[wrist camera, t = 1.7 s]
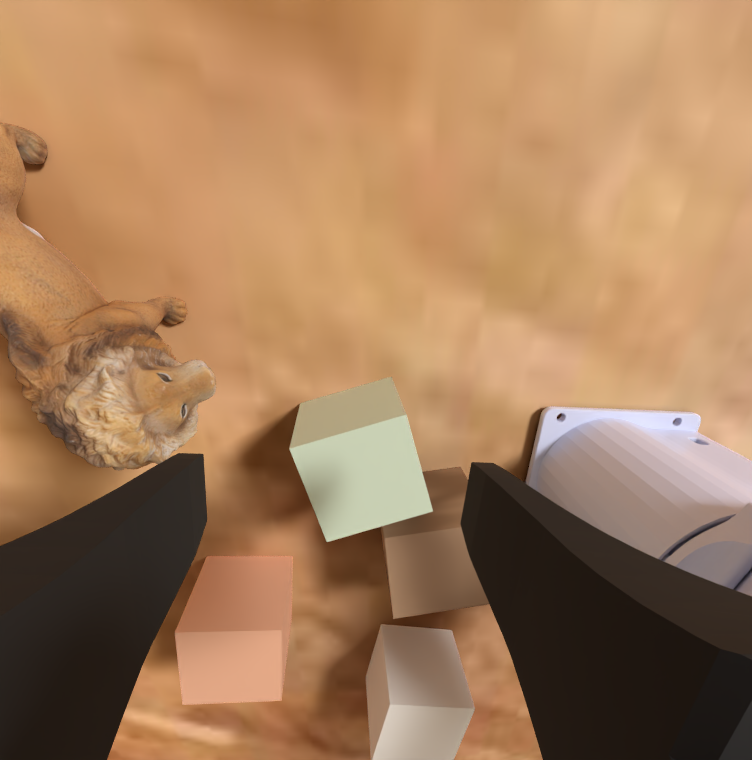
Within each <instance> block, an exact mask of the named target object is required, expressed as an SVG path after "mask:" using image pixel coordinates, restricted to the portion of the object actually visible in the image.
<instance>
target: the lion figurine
mask: <svg viewBox="0 0 752 760" xmlns="http://www.w3.org/2000/svg"><path fill="white" fill-rule="evenodd" d="M47 154H48V152H47V146H46V144H45V142H44V141H43V140H42V139H41V138H40V137H39V136H38V135H37V134H35V133H33V132H32V131H30V130H27V129H24V128H21V127H18V126H15V125H11V124H6V123H2V122H0V333H1V334H2V335H3V336H4V337H5V338H6V339H7V340H8V358H9V360H10V362H11V363H12V365H13V366H14V367H15V368H16V379H17V381H18V382H19V383H21V384H23V388H22V394H23V396H24V397H25V398H26V399H28V400H29V401H32V403H33V405H32V409H31V410H32V411H33V412H35V413H37V414H38V415H37V419H38V420H39V421H40V423H44V424H46V425H47V426H48V428H49V430H50V431H51V433H52V435H54V436H55V437H58V438H61V439H63V440H64V442H65V445H66V448H67V449H68V450H69V451H70V452H72V453H73V454H76V455H78V456H80V457H82V458H84V459H85V460H86V461H87V462H89V463H90V464H92V465H94V466H97V467H113V468H114V469H115V470H122V469H124V468H127V469H138V468H140V467H143V466H146V465H148V464H150V463H157V464H160V463H161V462H163V461H165V460H167V459H168V458H169V457H170V455H171V453H172V452H173V451H175V450H177V449H178V448H179V447H182V446H183V445H184V444H185V443H186V442H187V441H188V440H189V439H190V438H191V437H193V436H194V435H195V433H196V432H197V422H198V413H197V408H198V403H200V402H202V401H204V400H207V399H208V398H210V397H212V396H213V395H214V393H215V390H216V380H215V376H214V374H213V372H212V370H211V369H210V368H208V367H207V365H206V364H205V363H204V362H202V361H200V360H191V361H188V362H185V363H184V364H181V363H180V362H178V361H176V358H175V357H174V356H173V354H172V352H171V347H170V346H169V345H166V344H165V343H164V342H163V340H162V339H161V337H160V336H159V335H158V334H157V333H155V332H154V330H155V329H156V327H157V326H158V325H159V323H160V322H161V321H162V320H164V321H166V322H167V323H169V324H177V323H178V322H183V321H184V320H185V317H186V314H187V309H186V304H185V302H184V301H182V300H180V299H176V298H170V297H159V298H156V299H151V300H148V301H147V302H142V303H135V302H124V301H119V300H117V301H112V302H111V303H108V302H107V301H106V300H105V298H104V297H103V296H102V295H101V293H100V292H99V291H98V290H97V288H96V287H95V286H94V285H93V283H92V282H91V281H90V280H89V279H88V278H87V276H86V275H84V274H83V273H82V272H81V271H80V270H79V269H78V268H77V267H76V266H75V265H74V264H73V263H72V262H71V261H70V260H69V259H68V258H67V257H66V256H64V255H63V254H62V253H61V252H60V251H59V250H57V249H56V248H55V247H54V246H52V245H51V244H50V243H48V242H47V241H46V240H45V239H44V238H43V237H42V236H41V235H40V234H39V233H38V232H37V231H36V230H34V229H32V228H31V227H29V226H27V225H25V224H23V223H22V222H21V221H20V220H19V218H18V217H17V214H16V209H17V205H18V203H19V201H20V198H21V196H22V194H23V191H24V186H25V182H26V172H25V167H24V164H23V160H24V161H25V162H27V163H30V164H42V163H44V162H45V158H46V157H47Z"/></svg>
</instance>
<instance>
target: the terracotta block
mask: <svg viewBox="0 0 752 760" xmlns="http://www.w3.org/2000/svg"><path fill="white" fill-rule="evenodd" d="M292 565H293V556H207V557H206V559H205V562H204V564H203V566H202V569H201V571H200V574H199V576H198V578H197V581H196V583H195V585H194V588H193V590H192V593H191V595H190V597H189V600H188V602H187V605H186V607H185V609H184V612H183V614H182V616H181V619H180V621H179V624H178V626H177V628H176V631H175V640H176V649H177V658H178V667H179V676H180V685H181V695H182V704H183V705H188V704H212V703H237V702H261V701H281V700H282V692H283V684H284V676H285V668H286V660H287V652H288V644H289V636H290V628H291V620H292Z"/></svg>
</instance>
